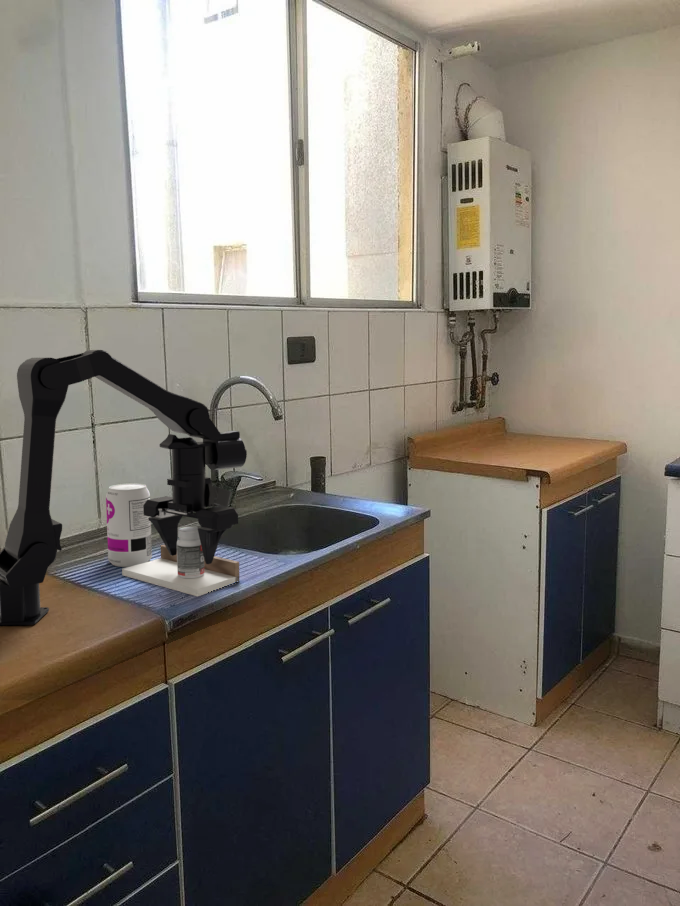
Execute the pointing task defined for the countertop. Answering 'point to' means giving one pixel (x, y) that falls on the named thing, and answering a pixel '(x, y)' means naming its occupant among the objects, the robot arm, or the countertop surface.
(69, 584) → the countertop surface
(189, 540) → the pill bottle
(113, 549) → the supplement can
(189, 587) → the shelf board
